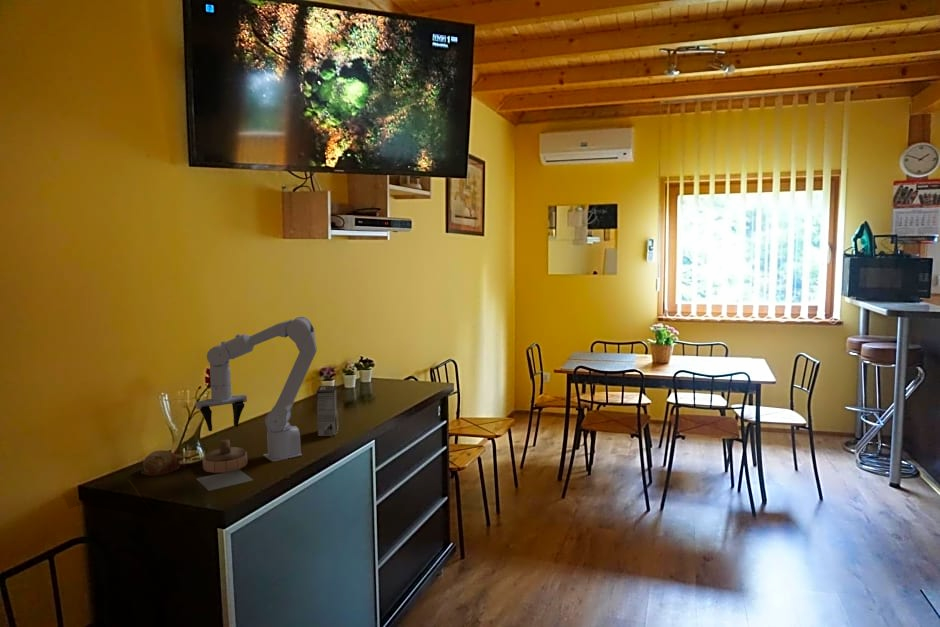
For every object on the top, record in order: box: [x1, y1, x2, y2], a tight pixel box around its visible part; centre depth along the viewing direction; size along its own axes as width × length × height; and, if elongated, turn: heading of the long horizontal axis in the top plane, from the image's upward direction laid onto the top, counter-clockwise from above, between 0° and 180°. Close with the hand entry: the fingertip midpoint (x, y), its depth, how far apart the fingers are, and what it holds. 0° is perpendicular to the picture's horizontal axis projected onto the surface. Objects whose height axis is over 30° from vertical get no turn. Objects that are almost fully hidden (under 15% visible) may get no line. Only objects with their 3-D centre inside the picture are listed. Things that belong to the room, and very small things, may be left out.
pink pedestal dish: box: [204, 439, 246, 462], centre depth 186 cm, size 11×11×4 cm
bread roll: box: [141, 449, 181, 477], centre depth 184 cm, size 10×10×8 cm
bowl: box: [202, 450, 248, 474], centre depth 187 cm, size 12×12×4 cm
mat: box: [195, 468, 254, 492], centre depth 175 cm, size 12×12×1 cm
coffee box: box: [316, 385, 339, 436], centre depth 220 cm, size 9×6×16 cm
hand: (223, 428), depth 193 cm, fingers open, 7 cm apart
